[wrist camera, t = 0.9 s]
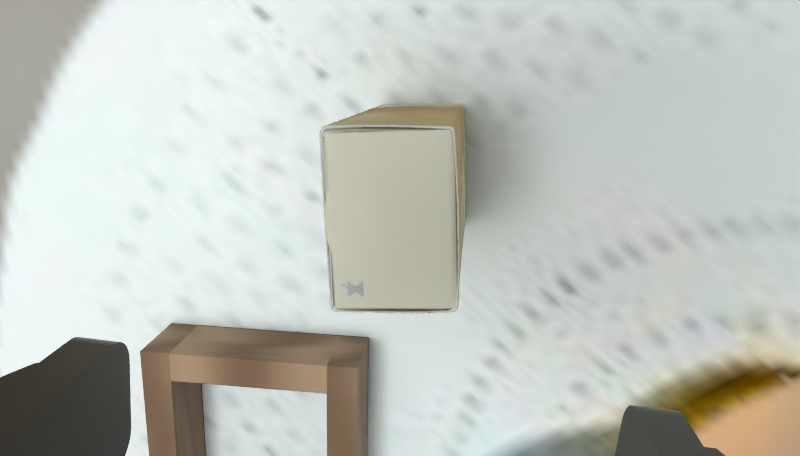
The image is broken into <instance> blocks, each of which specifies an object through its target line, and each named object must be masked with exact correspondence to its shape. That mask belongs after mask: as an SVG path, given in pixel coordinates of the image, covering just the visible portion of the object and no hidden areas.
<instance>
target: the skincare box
mask: <svg viewBox="0 0 800 456" xmlns="http://www.w3.org/2000/svg"><path fill="white" fill-rule="evenodd" d="M320 148H321V167H322V184H323V198H324V217H325V232H326V244H327V258H328V272H329V287H330V300H331V309H332V310H333V311H336V312H374V313H434V312H454V311H456V309H457V307H458V298H459V279H460V267H461V257H462V246H463V235H464V226H465V200H466V153H465V129H464V107H463V105H461V104H400V105H381V106H378V107H376V108H372V109H370V110H367V111H365V112H362V113H359V114H356V115H354V116H351V117H348V118H346V119H343V120H340V121H338V122H334V123H332V124H329V125H326V126H324V127H322V129H321V131H320Z"/></svg>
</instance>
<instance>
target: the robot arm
mask: <svg viewBox="0 0 800 456" xmlns="http://www.w3.org/2000/svg"><path fill="white" fill-rule="evenodd" d="M130 433H131V407H130V364H129V353H128V349H127V347H126V345H125V344H124V343H121V342H114V341H106V340H97V339H89V338H81V337H75V338H73V339H71V340H69V341H68V342H67V343H65V344H64V345H63V346H61V347H60V348H59V349H57V350H56V351H55V352H53V353H52V354H50V355H49V356H48V357H46V358H45V359H44V360H42V361H41V362H40V363H34V364H32V365H30V366H27V367H25V368H22V369H20V370H17V371H15V372H12V373H10V374H7V375H5V376H3V377H1V378H0V456H125V454H126V451H127V448H128V444H129V440H130ZM615 456H725V455H723V454H722V453H721V452H720V451H719V450H717V449H716V448H707V447H703V445H702V444H701V442H700V440H699V439H698V437H697V436H696V434H695V432H694V431H693V429H692V428H691V426H690V424H689V423H688V421H687V420H686V418H685V416H684V415H683V414H682V413H681V412H680V411H674V410H666V409H657V408H649V407H641V406H632V405H630V406H628V407H627V409H626V410H625V413H624V415H623V419H622V423H621V428H620V433H619V438H618V443H617V448H616V453H615Z"/></svg>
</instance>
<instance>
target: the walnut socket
mask: <svg viewBox="0 0 800 456" xmlns="http://www.w3.org/2000/svg"><path fill="white" fill-rule="evenodd" d="M368 354H369V338H367V337H353V336H340V335H326V334H312V333H298V332H284V331H270V330H256V329H242V328H228V327H214V326H200V325H186V324H172V323H171V324H170V325H169V326H168V327H167V328H166V329H165V330H164V331H163V332H161V333H160V334H159V335H158V336H157V337H156V338H155V339H154V340H152V341H151V342H150V343H149V344H148V345H147V346H146V347H145V348H144V349H142V350H141V351H140V355H141V366H142V378H143V389H144V401H145V412H146V424H147V435H148V446H149V456H206V453H205V437H204V421H203V404H202V388H201V383H203V384H215V385H228V386H240V387H253V388H265V389H277V390H290V391H302V392H314V393H327V456H367V425H368Z"/></svg>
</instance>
